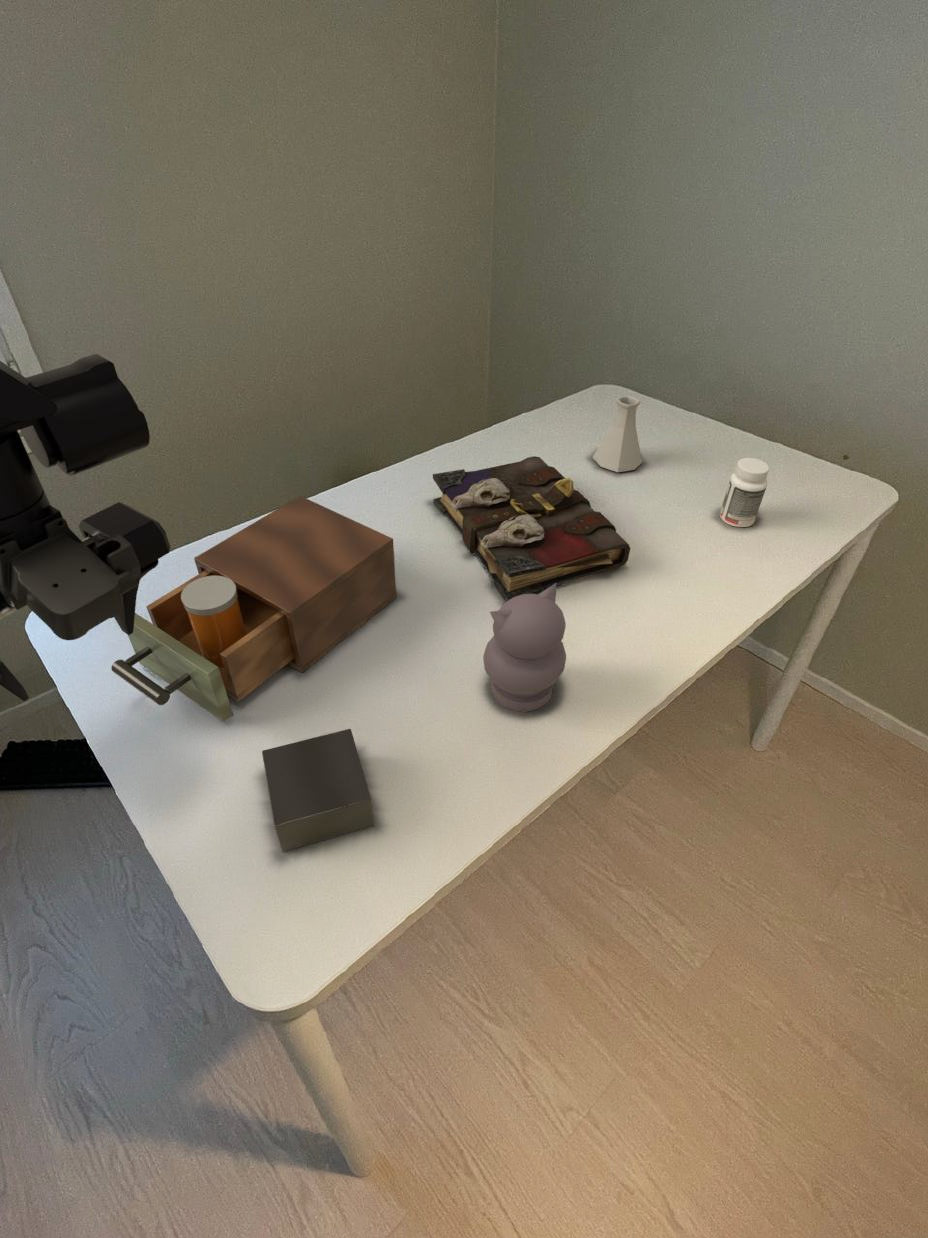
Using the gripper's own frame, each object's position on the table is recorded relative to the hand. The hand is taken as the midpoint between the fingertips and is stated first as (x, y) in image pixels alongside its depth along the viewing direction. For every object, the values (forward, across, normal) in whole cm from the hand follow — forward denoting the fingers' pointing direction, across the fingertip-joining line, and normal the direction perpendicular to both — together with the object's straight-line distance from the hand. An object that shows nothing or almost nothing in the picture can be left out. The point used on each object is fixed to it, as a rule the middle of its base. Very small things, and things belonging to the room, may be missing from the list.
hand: (78, 663), depth 57 cm
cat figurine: (+13, +30, -25) cm, 41 cm away
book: (+13, +53, -10) cm, 56 cm away
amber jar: (+11, +14, +2) cm, 18 cm away
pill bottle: (+13, +75, -32) cm, 82 cm away
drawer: (+12, +13, +2) cm, 18 cm away
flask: (+13, +79, -12) cm, 81 cm away
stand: (+13, +8, -18) cm, 23 cm away
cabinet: (+13, +26, +2) cm, 29 cm away
